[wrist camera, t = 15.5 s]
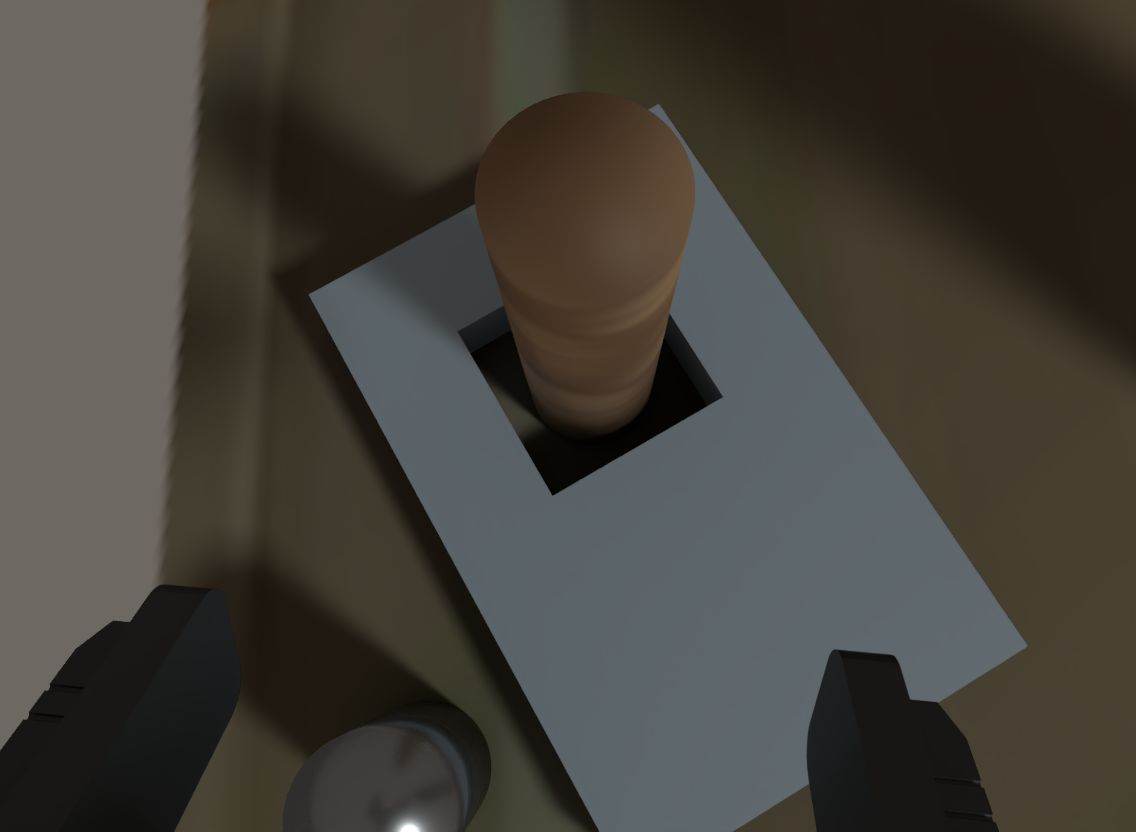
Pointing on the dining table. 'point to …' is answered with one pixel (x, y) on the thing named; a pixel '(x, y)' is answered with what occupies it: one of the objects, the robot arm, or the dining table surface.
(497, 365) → the dining table surface
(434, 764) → the short pin
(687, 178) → the long pin
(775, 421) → the hole board
